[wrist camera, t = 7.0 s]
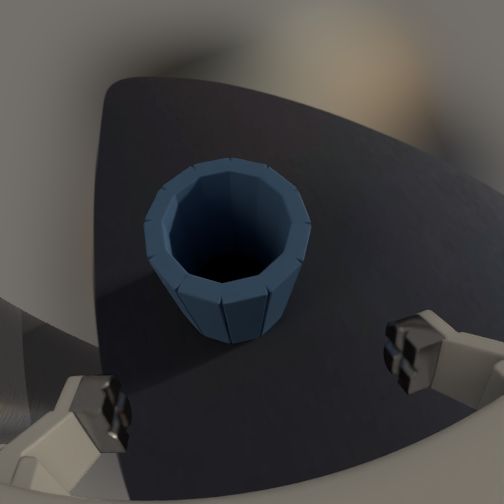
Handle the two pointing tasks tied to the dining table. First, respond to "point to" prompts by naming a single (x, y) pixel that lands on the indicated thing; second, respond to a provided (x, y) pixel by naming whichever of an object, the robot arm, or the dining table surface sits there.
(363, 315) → the dining table surface
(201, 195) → the sleeve
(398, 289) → the dining table surface
